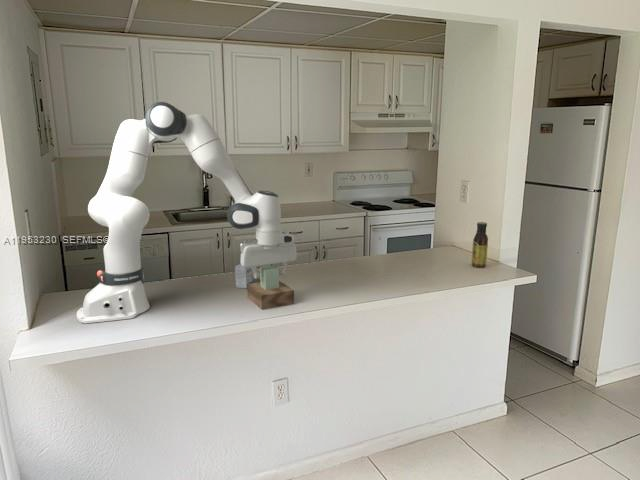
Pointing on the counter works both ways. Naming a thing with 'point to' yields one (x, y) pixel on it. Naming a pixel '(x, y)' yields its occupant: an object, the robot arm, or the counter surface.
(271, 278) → the sage block
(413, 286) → the counter surface
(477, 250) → the sauce bottle
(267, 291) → the walnut block
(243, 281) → the medicine box
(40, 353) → the counter surface
